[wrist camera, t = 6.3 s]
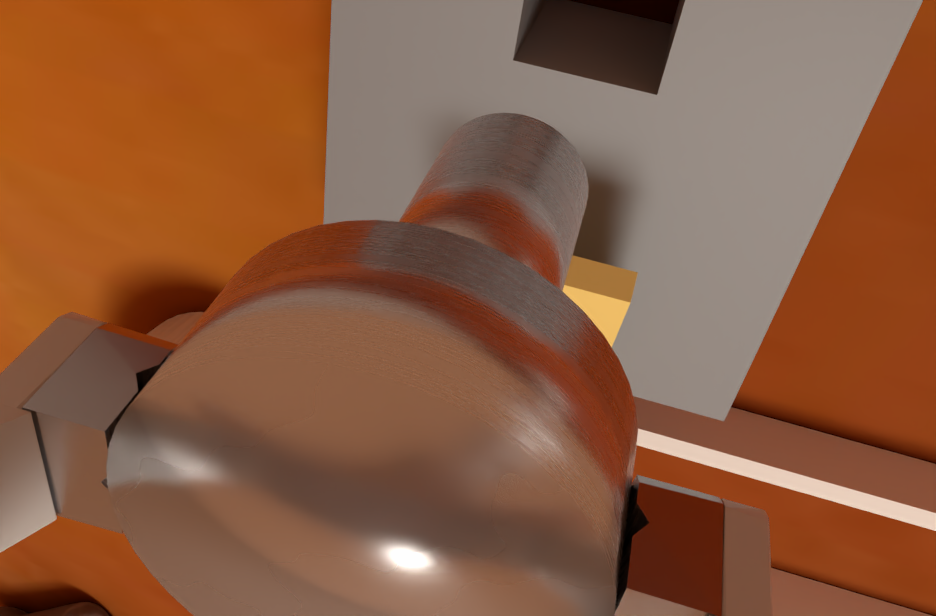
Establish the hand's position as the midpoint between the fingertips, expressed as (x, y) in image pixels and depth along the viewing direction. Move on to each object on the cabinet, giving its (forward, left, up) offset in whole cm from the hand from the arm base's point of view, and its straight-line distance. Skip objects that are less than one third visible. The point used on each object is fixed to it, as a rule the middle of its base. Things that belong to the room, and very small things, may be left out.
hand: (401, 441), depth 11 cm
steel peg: (0, 0, -7) cm, 7 cm away
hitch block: (0, +4, -24) cm, 24 cm away
